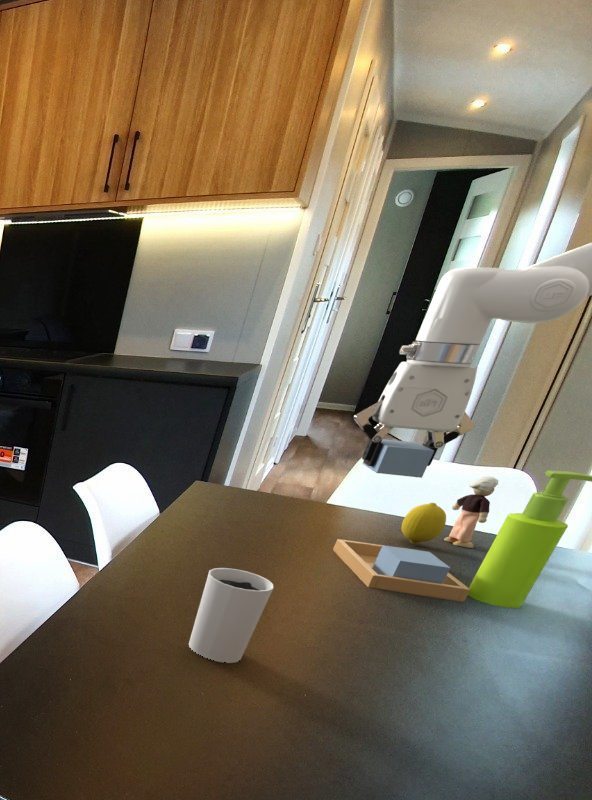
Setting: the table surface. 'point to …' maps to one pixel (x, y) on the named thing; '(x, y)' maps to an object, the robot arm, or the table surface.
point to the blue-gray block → (402, 458)
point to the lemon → (423, 523)
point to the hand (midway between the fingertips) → (393, 466)
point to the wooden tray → (362, 563)
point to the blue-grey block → (410, 564)
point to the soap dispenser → (523, 546)
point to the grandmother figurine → (472, 511)
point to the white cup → (228, 613)
